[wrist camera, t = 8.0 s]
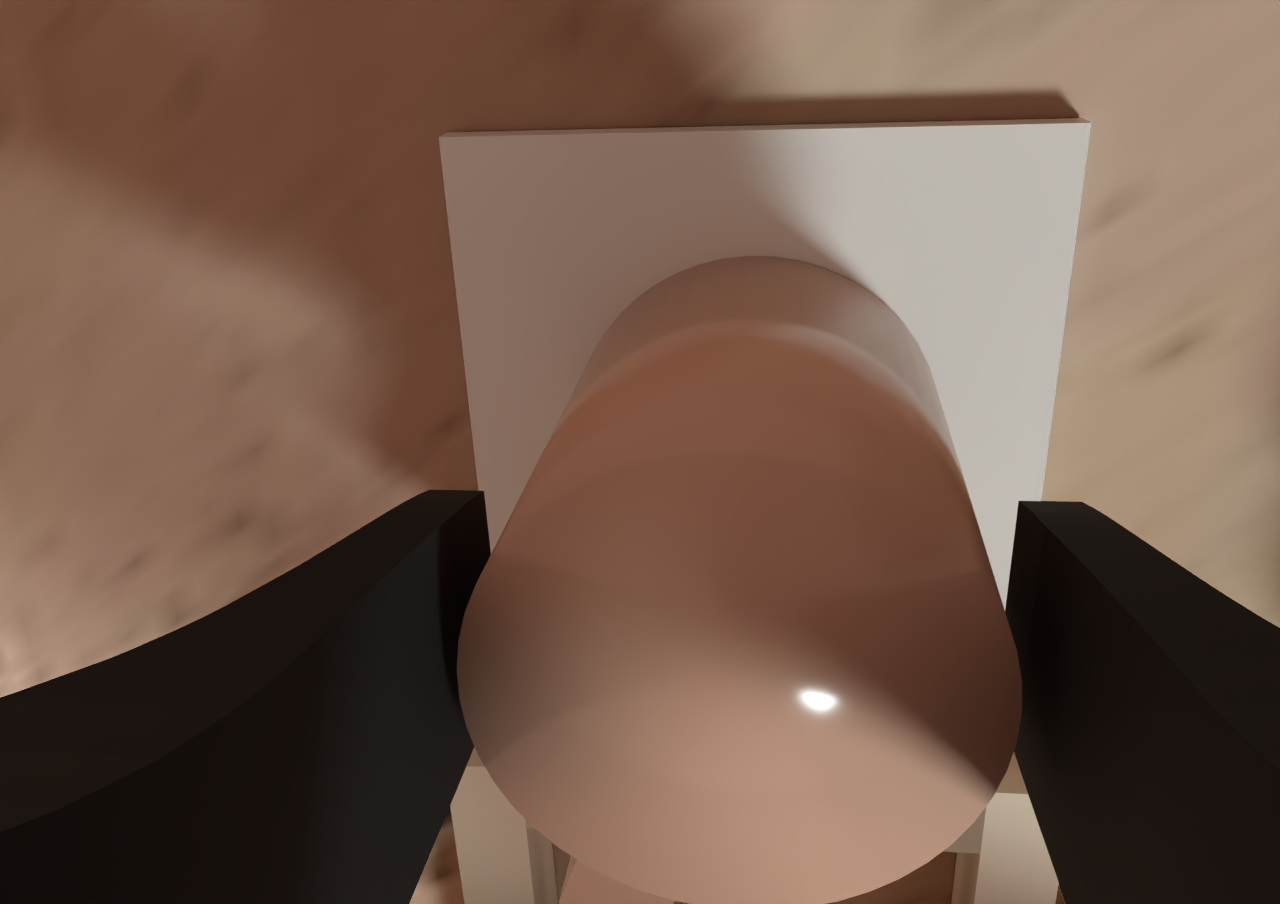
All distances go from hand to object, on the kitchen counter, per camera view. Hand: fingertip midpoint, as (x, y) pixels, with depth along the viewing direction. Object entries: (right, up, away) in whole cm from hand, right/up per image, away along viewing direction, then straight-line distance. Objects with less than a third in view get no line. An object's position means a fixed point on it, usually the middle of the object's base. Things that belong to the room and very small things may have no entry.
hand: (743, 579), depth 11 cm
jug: (+1, +2, +4) cm, 4 cm away
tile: (+1, +2, +4) cm, 4 cm away
